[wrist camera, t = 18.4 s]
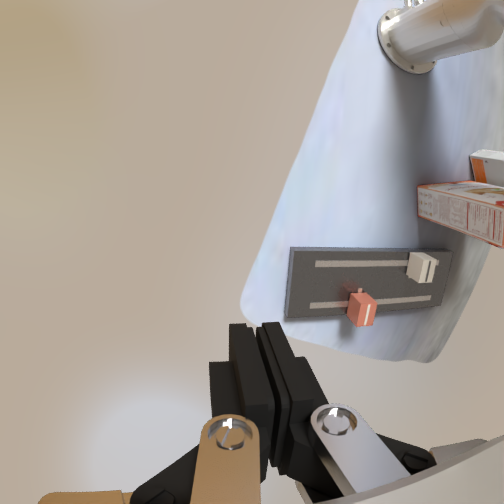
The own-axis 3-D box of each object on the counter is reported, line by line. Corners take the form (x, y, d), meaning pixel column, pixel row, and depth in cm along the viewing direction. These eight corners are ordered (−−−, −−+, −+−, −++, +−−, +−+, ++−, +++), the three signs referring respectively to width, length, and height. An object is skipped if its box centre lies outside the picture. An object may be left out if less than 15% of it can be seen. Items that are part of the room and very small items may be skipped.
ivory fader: (410, 252, 50) (424, 259, 47) (423, 252, 51) (437, 259, 47) (406, 274, 52) (419, 283, 48) (418, 274, 52) (432, 282, 48)
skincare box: (468, 155, 49) (513, 161, 38) (480, 148, 49) (524, 154, 38) (474, 184, 51) (518, 194, 40) (486, 177, 51) (529, 186, 40)
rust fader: (350, 293, 51) (361, 304, 47) (366, 292, 51) (377, 303, 47) (346, 315, 52) (356, 327, 48) (362, 314, 52) (372, 325, 48)
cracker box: (468, 178, 51) (552, 197, 31) (468, 208, 53) (549, 236, 33) (415, 182, 49) (507, 205, 30) (416, 217, 51) (503, 252, 31)
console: (290, 246, 49) (294, 251, 47) (446, 249, 54) (453, 252, 52) (284, 311, 52) (287, 318, 50) (434, 301, 58) (440, 305, 55)
